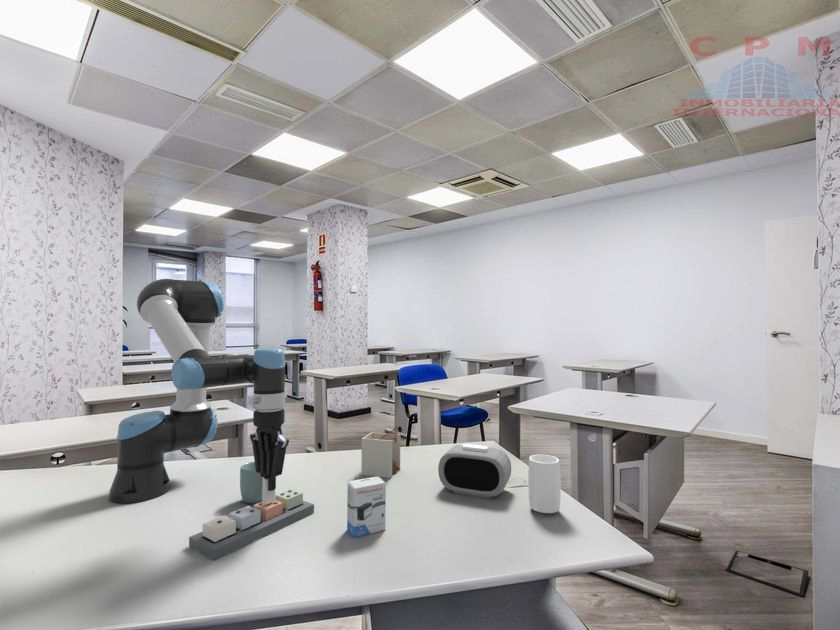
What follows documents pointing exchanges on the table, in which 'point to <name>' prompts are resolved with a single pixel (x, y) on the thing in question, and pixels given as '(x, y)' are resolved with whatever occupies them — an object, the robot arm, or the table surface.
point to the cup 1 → (250, 483)
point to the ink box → (366, 506)
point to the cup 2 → (544, 483)
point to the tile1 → (219, 528)
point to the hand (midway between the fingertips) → (268, 502)
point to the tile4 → (290, 498)
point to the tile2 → (246, 517)
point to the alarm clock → (475, 470)
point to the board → (248, 533)
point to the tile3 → (269, 509)
